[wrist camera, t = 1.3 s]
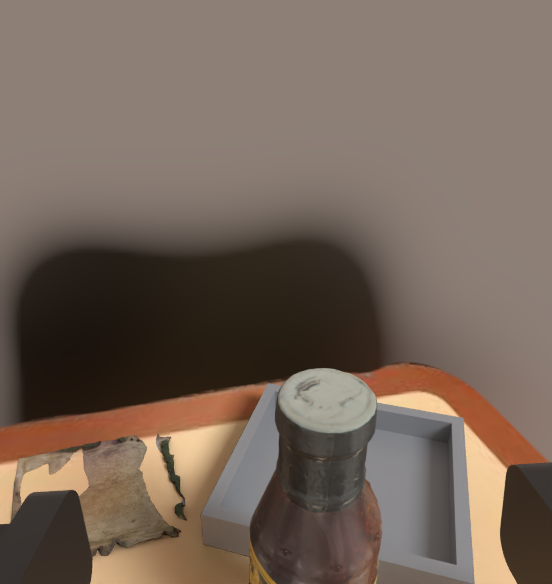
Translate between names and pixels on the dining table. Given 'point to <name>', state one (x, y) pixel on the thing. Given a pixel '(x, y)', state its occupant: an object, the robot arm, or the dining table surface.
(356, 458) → the sauce bottle
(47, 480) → the dining table surface
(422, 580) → the tray
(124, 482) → the parchment
